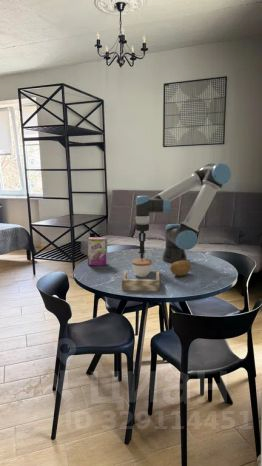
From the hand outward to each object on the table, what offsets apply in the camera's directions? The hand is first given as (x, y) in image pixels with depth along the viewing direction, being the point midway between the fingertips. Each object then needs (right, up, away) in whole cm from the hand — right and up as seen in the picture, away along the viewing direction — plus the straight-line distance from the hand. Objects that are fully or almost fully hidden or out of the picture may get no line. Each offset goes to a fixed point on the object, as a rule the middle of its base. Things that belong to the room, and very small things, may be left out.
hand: (141, 263), depth 183 cm
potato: (+21, -5, -11) cm, 24 cm away
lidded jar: (0, -5, -11) cm, 12 cm away
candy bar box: (-26, -2, +9) cm, 28 cm away
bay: (-1, -8, -27) cm, 29 cm away
